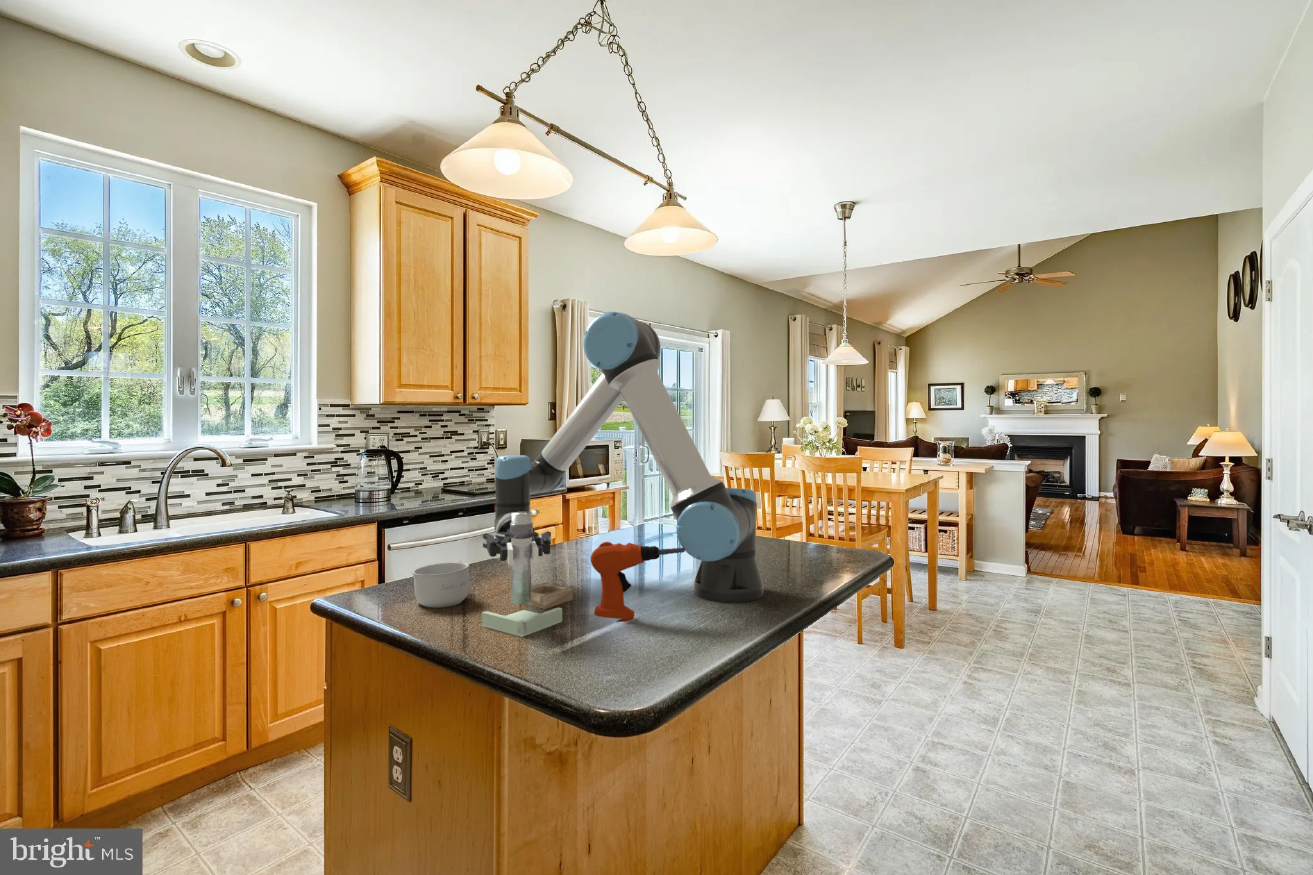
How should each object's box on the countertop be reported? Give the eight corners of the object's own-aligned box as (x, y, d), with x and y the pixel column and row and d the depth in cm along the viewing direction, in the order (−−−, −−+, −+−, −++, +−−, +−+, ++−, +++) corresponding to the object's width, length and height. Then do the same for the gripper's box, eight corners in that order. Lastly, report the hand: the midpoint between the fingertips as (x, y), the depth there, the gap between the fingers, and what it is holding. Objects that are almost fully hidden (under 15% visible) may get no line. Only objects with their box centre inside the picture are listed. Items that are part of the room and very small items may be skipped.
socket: (572, 602, 128) (573, 588, 128) (545, 612, 121) (545, 597, 121) (544, 596, 132) (544, 582, 132) (516, 605, 126) (516, 591, 126)
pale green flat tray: (562, 625, 113) (562, 608, 113) (522, 641, 105) (521, 622, 105) (523, 616, 119) (523, 599, 119) (482, 630, 111) (482, 612, 111)
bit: (536, 600, 113) (537, 512, 112) (520, 605, 109) (521, 515, 109) (521, 596, 115) (521, 510, 114) (504, 601, 111) (505, 513, 111)
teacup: (446, 616, 119) (446, 574, 118) (400, 610, 122) (400, 570, 122) (488, 597, 132) (488, 560, 132) (446, 592, 135) (446, 556, 135)
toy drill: (691, 617, 114) (681, 536, 114) (592, 625, 116) (582, 546, 116) (693, 609, 118) (684, 531, 118) (598, 617, 121) (588, 541, 121)
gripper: (555, 549, 131) (571, 575, 109) (473, 553, 127) (473, 581, 104) (555, 514, 131) (572, 533, 109) (473, 516, 127) (473, 537, 104)
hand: (523, 556), depth 107 cm, fingers closed on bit, 3 cm apart
